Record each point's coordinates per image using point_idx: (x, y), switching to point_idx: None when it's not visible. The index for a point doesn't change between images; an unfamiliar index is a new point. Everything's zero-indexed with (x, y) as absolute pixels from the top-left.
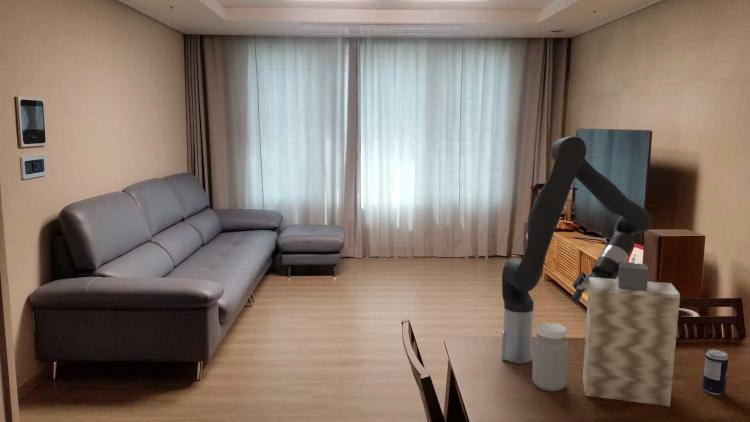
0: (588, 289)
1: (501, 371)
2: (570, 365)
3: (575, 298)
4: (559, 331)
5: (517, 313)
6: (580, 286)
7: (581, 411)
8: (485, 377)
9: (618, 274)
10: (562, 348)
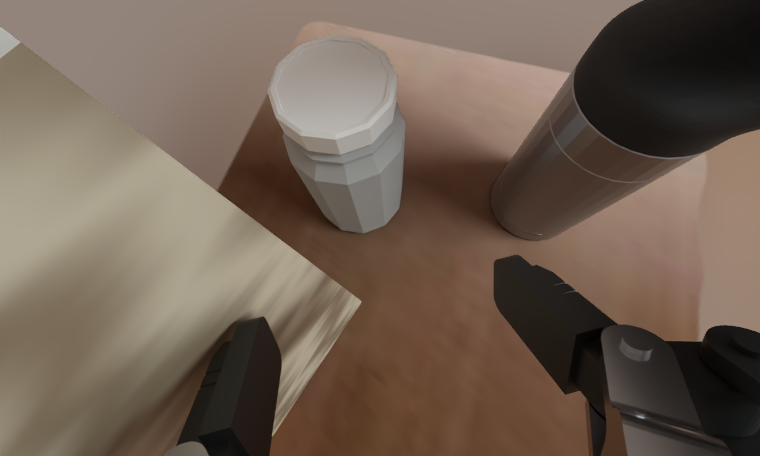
0: (185, 168)
1: (459, 133)
2: (450, 326)
3: (508, 281)
4: (282, 90)
5: (576, 65)
6: (644, 382)
7: (232, 195)
8: (438, 90)
9: None
10: (283, 135)
